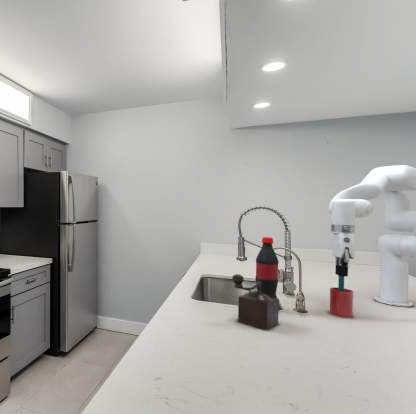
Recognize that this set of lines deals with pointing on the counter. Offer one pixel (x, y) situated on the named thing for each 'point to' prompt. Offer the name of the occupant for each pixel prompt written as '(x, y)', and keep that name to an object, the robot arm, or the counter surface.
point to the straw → (341, 283)
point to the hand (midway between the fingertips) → (341, 275)
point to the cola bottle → (267, 268)
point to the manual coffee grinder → (256, 306)
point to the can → (341, 302)
